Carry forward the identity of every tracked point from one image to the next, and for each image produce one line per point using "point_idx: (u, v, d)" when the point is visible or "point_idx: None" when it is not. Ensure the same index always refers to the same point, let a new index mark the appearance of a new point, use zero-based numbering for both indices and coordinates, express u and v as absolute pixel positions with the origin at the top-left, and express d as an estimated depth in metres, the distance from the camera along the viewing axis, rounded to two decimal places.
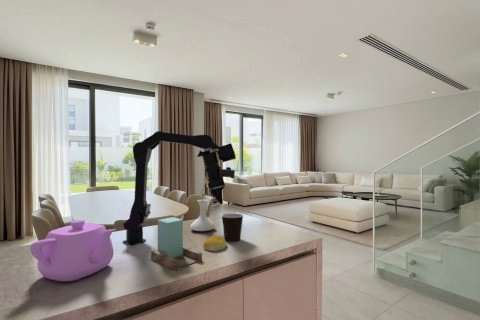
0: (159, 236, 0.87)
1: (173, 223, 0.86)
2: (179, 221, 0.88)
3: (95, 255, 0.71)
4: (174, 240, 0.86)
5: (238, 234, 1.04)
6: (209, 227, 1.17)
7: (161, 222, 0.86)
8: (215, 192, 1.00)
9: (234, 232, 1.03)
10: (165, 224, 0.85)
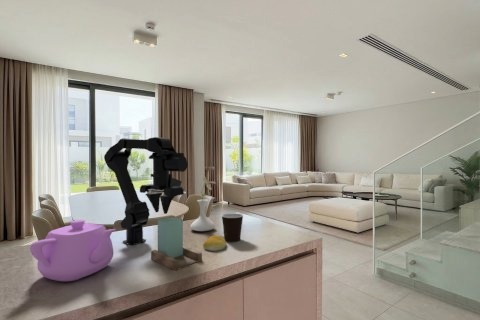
0: (159, 236, 0.87)
1: (173, 223, 0.86)
2: (179, 221, 0.88)
3: (95, 255, 0.71)
4: (174, 240, 0.86)
5: (238, 234, 1.04)
6: (209, 227, 1.17)
7: (161, 222, 0.86)
8: (165, 200, 0.94)
9: (234, 232, 1.03)
10: (165, 224, 0.85)
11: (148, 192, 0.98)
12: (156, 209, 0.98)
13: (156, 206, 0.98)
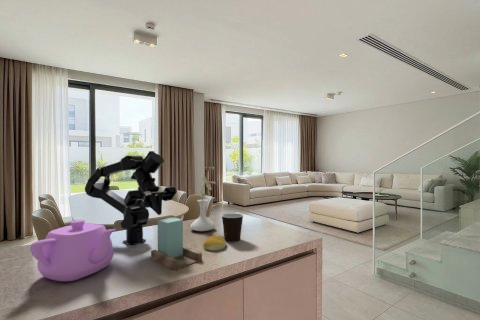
0: (159, 236, 0.87)
1: (173, 223, 0.86)
2: (179, 221, 0.88)
3: (95, 255, 0.71)
4: (174, 240, 0.86)
5: (238, 234, 1.04)
6: (209, 227, 1.17)
7: (161, 222, 0.86)
8: None
9: (234, 232, 1.03)
10: (165, 224, 0.85)
11: (148, 194, 0.93)
12: None
13: None
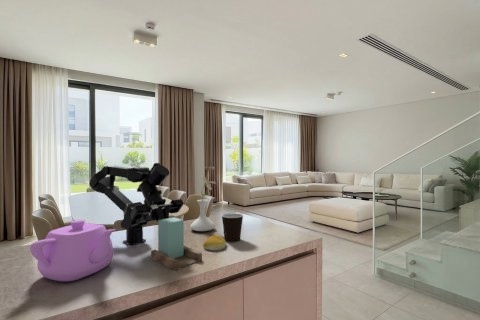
0: (160, 236, 0.87)
1: (174, 223, 0.85)
2: (180, 221, 0.87)
3: (95, 255, 0.71)
4: (174, 240, 0.86)
5: (238, 234, 1.04)
6: (209, 227, 1.17)
7: (162, 222, 0.86)
8: None
9: (234, 232, 1.03)
10: (166, 224, 0.84)
11: (155, 208, 0.91)
12: None
13: None
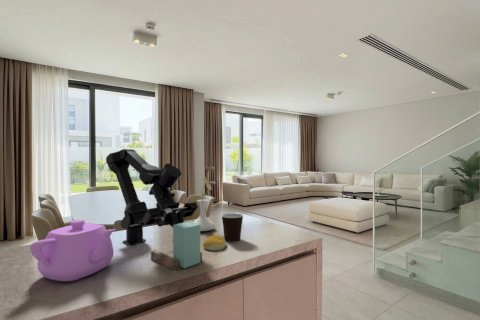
0: (175, 242, 0.81)
1: (190, 228, 0.79)
2: (196, 226, 0.81)
3: (95, 255, 0.71)
4: (191, 246, 0.80)
5: (238, 234, 1.04)
6: (209, 227, 1.17)
7: (177, 227, 0.80)
8: None
9: (234, 232, 1.03)
10: (182, 229, 0.78)
11: (168, 212, 0.85)
12: None
13: None
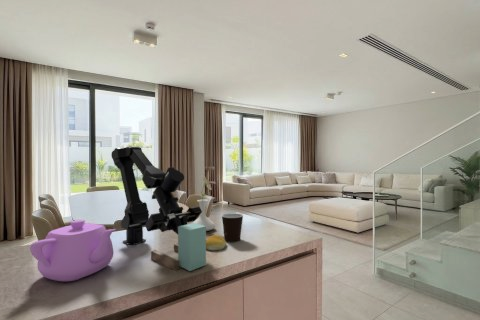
0: (180, 244, 0.79)
1: (196, 230, 0.77)
2: (202, 228, 0.79)
3: (95, 255, 0.71)
4: (196, 248, 0.78)
5: (238, 234, 1.04)
6: (209, 227, 1.17)
7: (182, 229, 0.78)
8: None
9: (234, 232, 1.03)
10: (187, 231, 0.76)
11: (172, 217, 0.83)
12: None
13: None
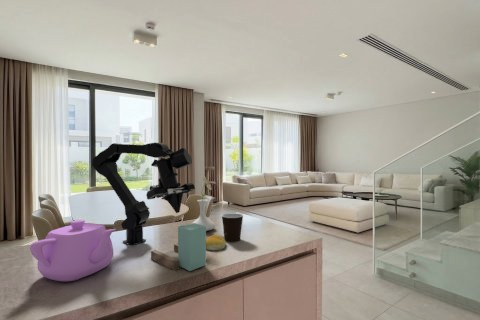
0: (180, 244, 0.79)
1: (196, 230, 0.77)
2: (202, 228, 0.79)
3: (95, 255, 0.71)
4: (196, 248, 0.78)
5: (238, 234, 1.04)
6: (209, 227, 1.17)
7: (182, 229, 0.78)
8: None
9: (234, 232, 1.03)
10: (187, 231, 0.76)
11: (170, 192, 0.95)
12: None
13: None
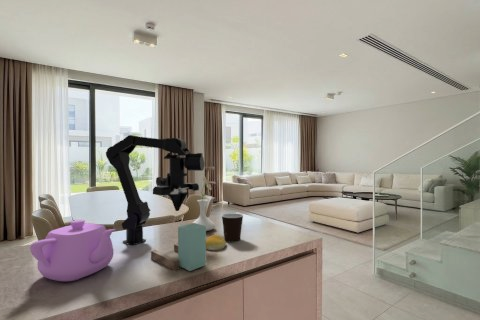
0: (180, 244, 0.79)
1: (196, 230, 0.77)
2: (202, 228, 0.79)
3: (95, 255, 0.71)
4: (196, 248, 0.78)
5: (238, 234, 1.04)
6: (209, 227, 1.17)
7: (182, 229, 0.78)
8: None
9: (234, 232, 1.03)
10: (187, 231, 0.76)
11: (175, 192, 0.98)
12: None
13: None
